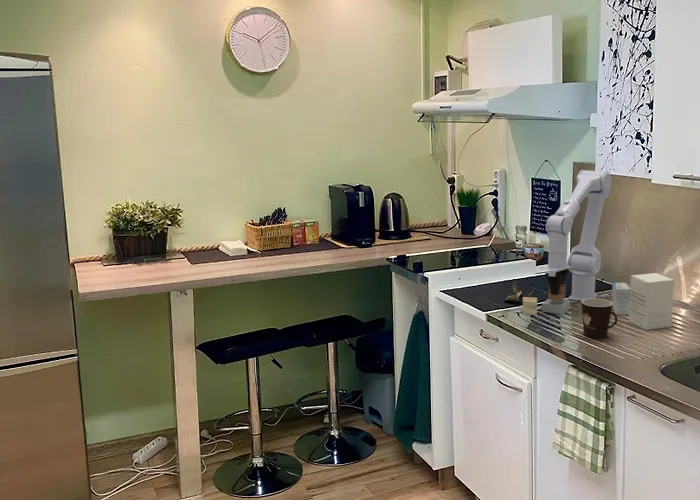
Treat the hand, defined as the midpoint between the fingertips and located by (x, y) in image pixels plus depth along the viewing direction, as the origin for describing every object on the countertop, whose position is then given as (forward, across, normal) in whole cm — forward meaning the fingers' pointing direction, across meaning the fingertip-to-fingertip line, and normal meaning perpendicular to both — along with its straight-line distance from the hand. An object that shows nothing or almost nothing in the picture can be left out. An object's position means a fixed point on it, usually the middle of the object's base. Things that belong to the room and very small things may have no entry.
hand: (556, 292), depth 230 cm
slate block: (+6, 0, 0) cm, 6 cm away
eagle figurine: (+6, +3, +14) cm, 16 cm away
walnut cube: (+2, 0, 0) cm, 2 cm away
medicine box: (+6, +7, -19) cm, 21 cm away
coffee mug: (+6, -21, -17) cm, 28 cm away
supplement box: (+6, -3, -29) cm, 30 cm away
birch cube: (+6, -6, +7) cm, 11 cm away
